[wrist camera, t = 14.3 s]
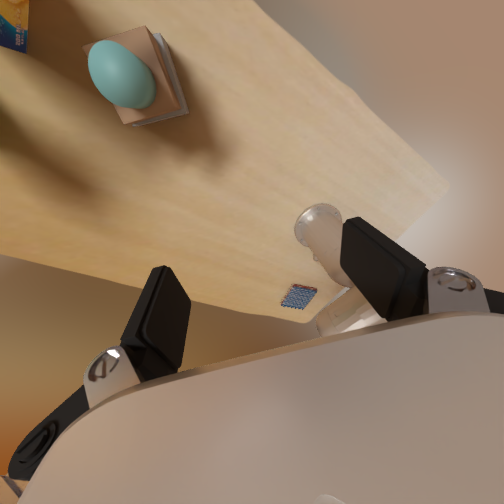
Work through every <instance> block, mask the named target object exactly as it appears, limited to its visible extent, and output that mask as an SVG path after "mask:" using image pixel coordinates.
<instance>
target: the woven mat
mask: <svg viewBox="0 0 504 504" xmlns="http://www.w3.org/2000/svg"><path fill="white" fill-rule="evenodd" d="M291 285H293V286H292V287H290V288H291V289H290V288H289V290H290V291H287V293H286V294H287V295H285V296H286V297H283V299H282V300H283V302H280V303H281V306H282V305H284V306H283V307H285V306H287V307H290V306H291V308H292V307H293V308H294V307H295V309H296V308H298V309H301V308H302V310H303V309H304V308H305V307H306V305H307V304H308V303H309V301H310V300H311V299H313V296H315V294H316V292H317V291H316V290H317V289H316V288H313V287H306V286H301V285H297V284H291ZM296 286H297V287H296ZM306 288H307V289H306ZM308 288H309V289H308ZM300 299H301V300H300ZM286 304H287V305H286Z"/></svg>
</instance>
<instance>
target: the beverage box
mask: <svg viewBox="0 0 504 504" xmlns="http://www.w3.org/2000/svg"><path fill="white" fill-rule="evenodd" d="M28 16H29V0H0V46H3V47H6V48H9V49H12V50H16V51H19V52H22V53H25V54H27V36H28Z"/></svg>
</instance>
